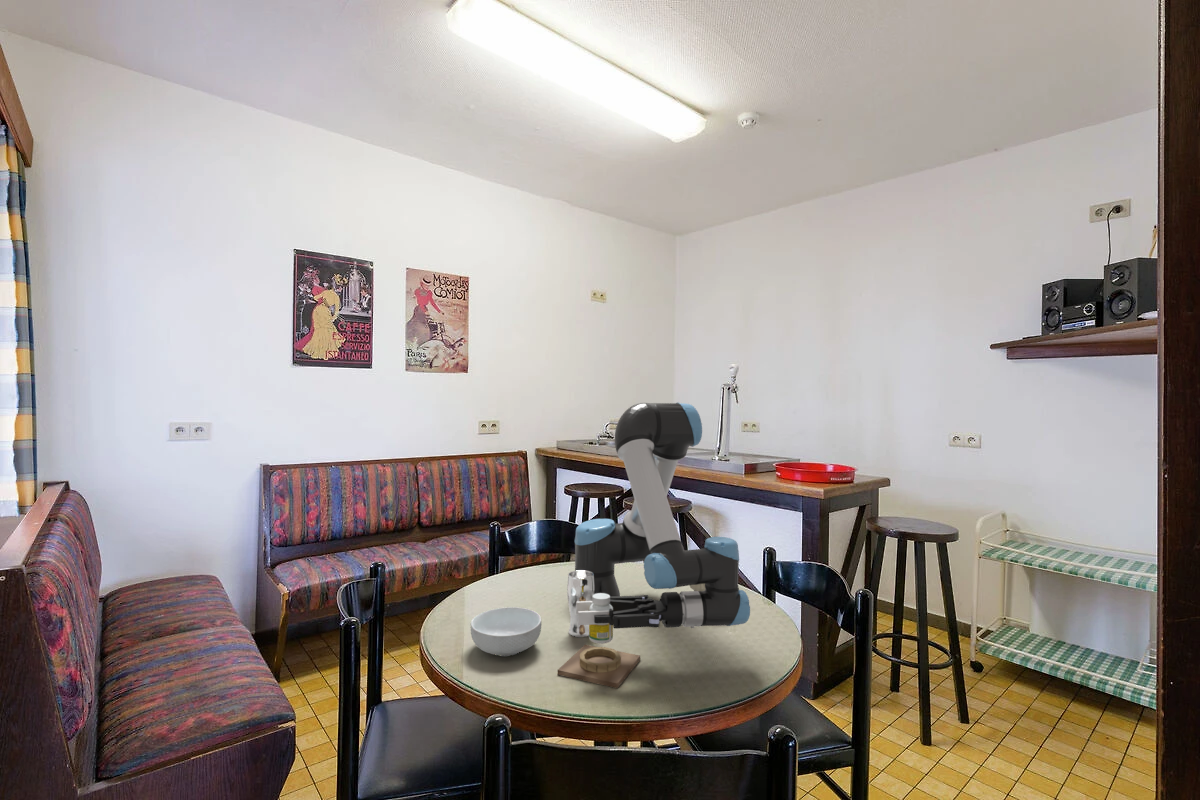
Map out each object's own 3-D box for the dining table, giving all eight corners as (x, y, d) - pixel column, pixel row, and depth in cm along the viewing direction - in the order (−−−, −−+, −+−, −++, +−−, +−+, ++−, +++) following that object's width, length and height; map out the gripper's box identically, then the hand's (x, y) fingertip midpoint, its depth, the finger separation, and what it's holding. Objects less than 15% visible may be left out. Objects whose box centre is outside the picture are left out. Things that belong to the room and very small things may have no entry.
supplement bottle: (602, 646, 123) (602, 601, 123) (583, 639, 127) (584, 596, 127) (617, 638, 127) (618, 595, 127) (599, 632, 131) (599, 590, 131)
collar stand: (557, 674, 124) (557, 663, 124) (584, 648, 137) (585, 638, 137) (617, 688, 118) (617, 676, 118) (640, 659, 131) (640, 649, 131)
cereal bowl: (464, 640, 141) (464, 612, 141) (529, 630, 147) (530, 602, 147) (478, 671, 125) (478, 639, 125) (550, 658, 132) (550, 627, 131)
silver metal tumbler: (573, 640, 141) (574, 579, 141) (562, 629, 147) (563, 572, 147) (598, 635, 144) (599, 575, 144) (586, 625, 151) (587, 568, 150)
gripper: (690, 643, 120) (580, 647, 117) (670, 611, 138) (574, 614, 136) (691, 607, 120) (580, 611, 117) (670, 579, 138) (574, 582, 136)
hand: (577, 612), depth 126 cm, fingers closed on supplement bottle, 5 cm apart
